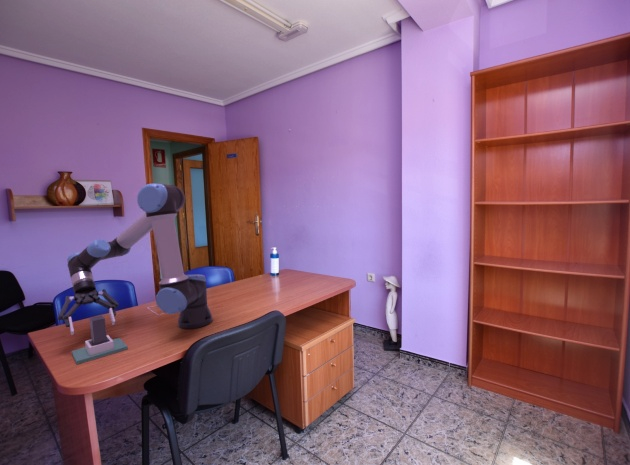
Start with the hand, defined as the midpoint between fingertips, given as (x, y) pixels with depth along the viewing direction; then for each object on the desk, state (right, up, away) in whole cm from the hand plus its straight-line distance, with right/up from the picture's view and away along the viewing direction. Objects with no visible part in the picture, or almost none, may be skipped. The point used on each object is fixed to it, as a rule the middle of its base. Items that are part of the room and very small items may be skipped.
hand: (94, 328), depth 125 cm
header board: (+4, -8, -3) cm, 10 cm away
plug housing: (+4, -7, -3) cm, 9 cm away
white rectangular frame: (+4, -5, +48) cm, 48 cm away
